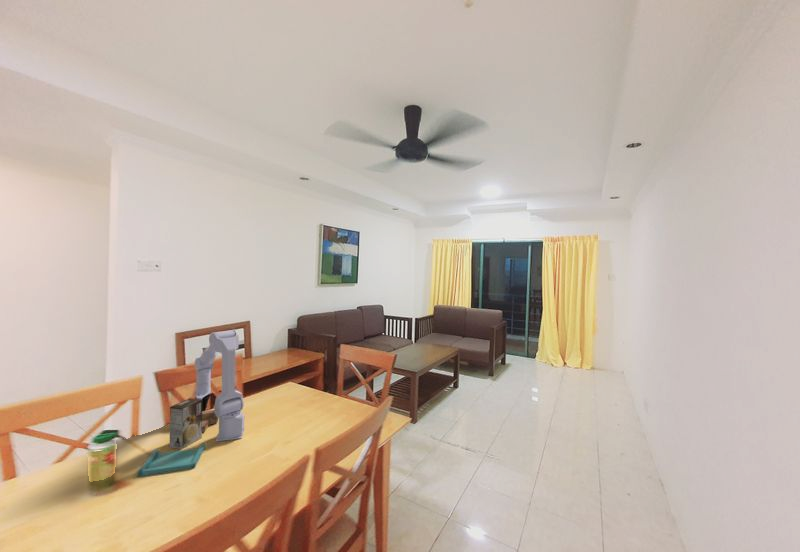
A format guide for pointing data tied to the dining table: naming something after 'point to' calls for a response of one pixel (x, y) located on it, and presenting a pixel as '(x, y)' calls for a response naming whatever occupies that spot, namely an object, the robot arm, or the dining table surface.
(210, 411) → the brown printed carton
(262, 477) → the dining table surface
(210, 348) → the robot arm
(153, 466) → the tray
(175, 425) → the coffee box
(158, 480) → the dining table surface
